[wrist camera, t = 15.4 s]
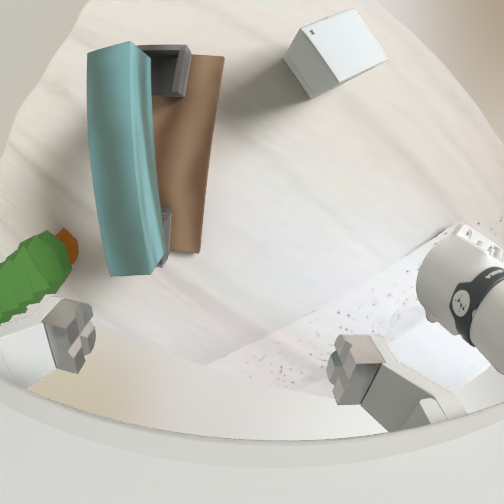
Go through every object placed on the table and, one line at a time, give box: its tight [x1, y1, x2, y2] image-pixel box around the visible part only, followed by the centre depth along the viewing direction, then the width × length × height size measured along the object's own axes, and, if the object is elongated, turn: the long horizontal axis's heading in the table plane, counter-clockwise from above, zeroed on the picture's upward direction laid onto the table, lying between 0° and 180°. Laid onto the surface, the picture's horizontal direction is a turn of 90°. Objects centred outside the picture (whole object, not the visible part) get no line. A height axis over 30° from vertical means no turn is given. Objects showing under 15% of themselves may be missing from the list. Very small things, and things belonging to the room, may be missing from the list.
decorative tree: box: [0, 228, 78, 324], centre depth 29 cm, size 10×9×30 cm
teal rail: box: [87, 41, 166, 276], centre depth 24 cm, size 4×20×6 cm, turn 3°
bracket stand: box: [137, 45, 225, 268], centre depth 33 cm, size 12×28×13 cm, turn 172°
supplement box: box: [283, 8, 388, 99], centre depth 29 cm, size 7×7×13 cm
